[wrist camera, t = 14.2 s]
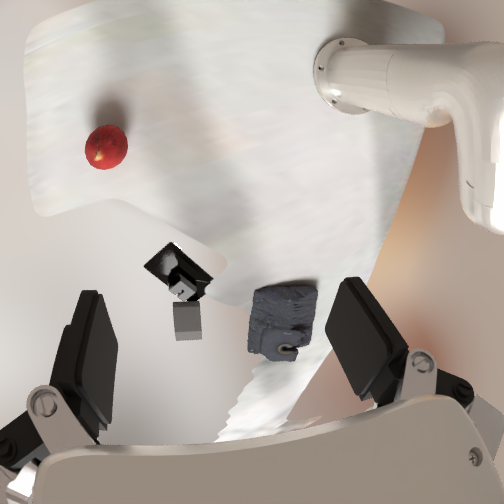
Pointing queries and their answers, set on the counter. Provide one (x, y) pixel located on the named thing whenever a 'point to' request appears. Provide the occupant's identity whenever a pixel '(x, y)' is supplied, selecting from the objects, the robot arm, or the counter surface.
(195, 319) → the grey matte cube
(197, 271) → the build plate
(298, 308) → the dark grey rough slab
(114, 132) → the red oval fruit
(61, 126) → the counter surface
